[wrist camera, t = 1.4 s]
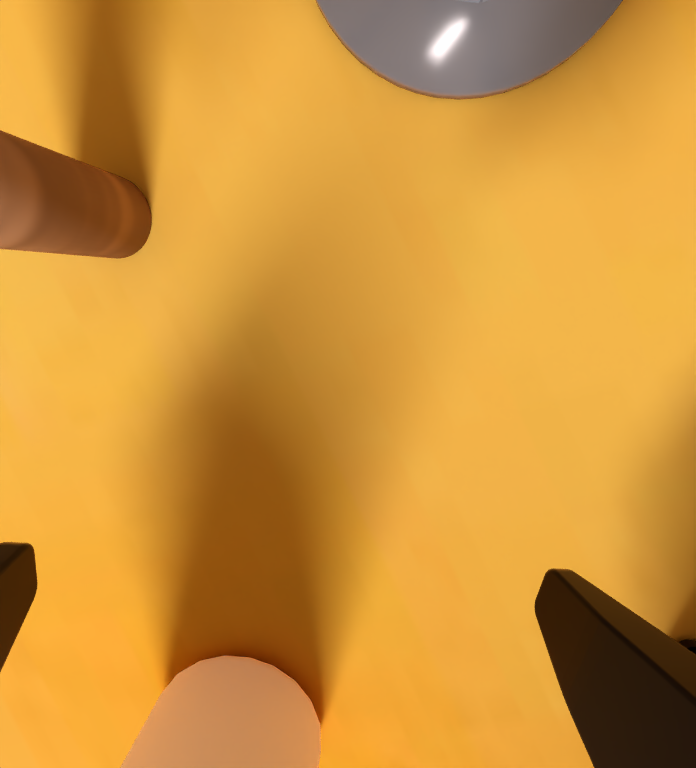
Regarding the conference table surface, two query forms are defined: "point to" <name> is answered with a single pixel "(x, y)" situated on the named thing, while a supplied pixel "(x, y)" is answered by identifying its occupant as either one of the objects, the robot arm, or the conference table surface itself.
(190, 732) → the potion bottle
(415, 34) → the grey flared collar base
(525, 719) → the conference table surface
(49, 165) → the brown wooden dowel
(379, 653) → the conference table surface
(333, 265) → the conference table surface
